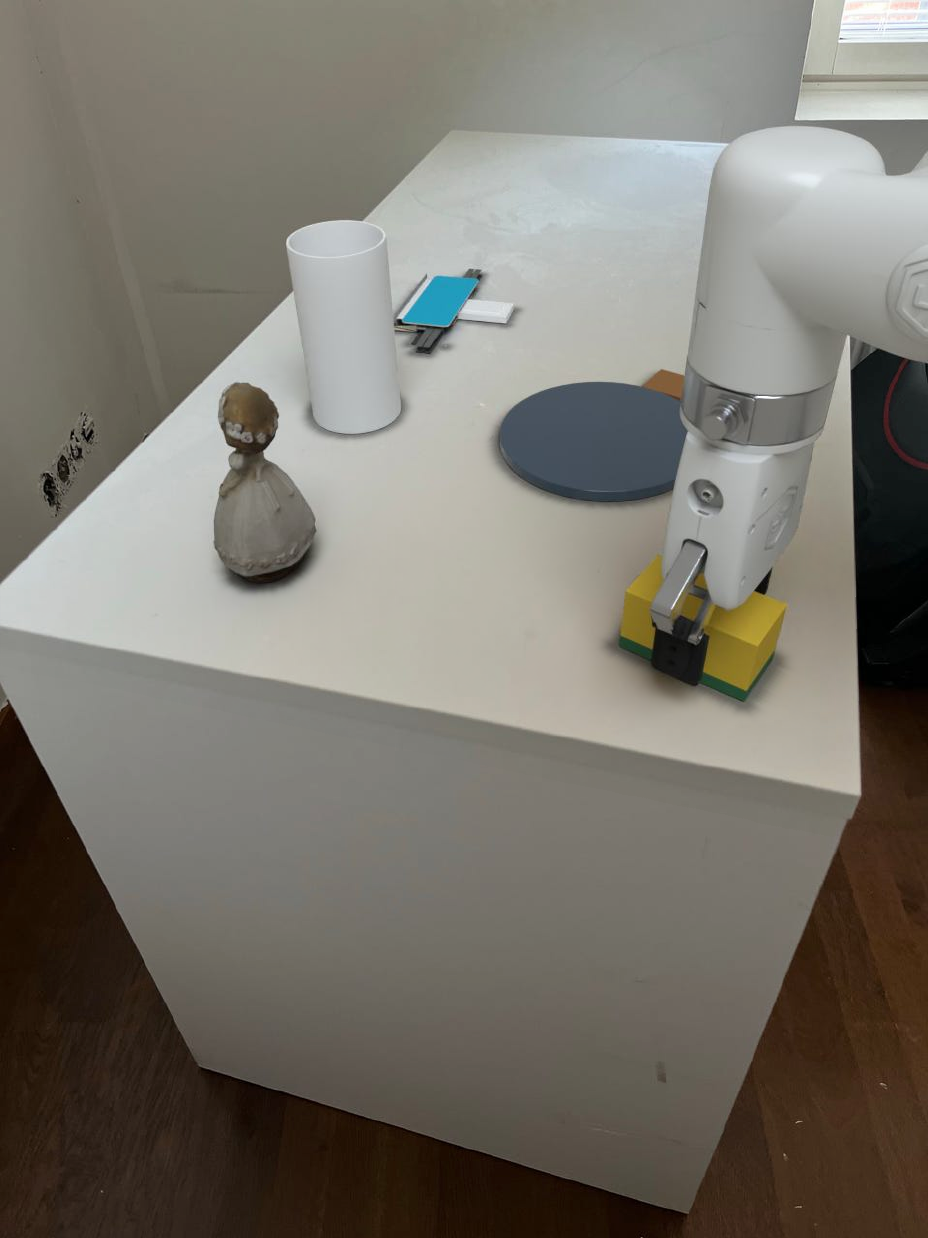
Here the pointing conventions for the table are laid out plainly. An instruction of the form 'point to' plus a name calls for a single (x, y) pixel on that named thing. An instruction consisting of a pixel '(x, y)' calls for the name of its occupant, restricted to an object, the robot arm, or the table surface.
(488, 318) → the phone stand
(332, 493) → the table surface
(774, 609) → the sponge
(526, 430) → the plate
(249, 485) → the figurine
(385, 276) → the cup
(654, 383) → the brown square tile
